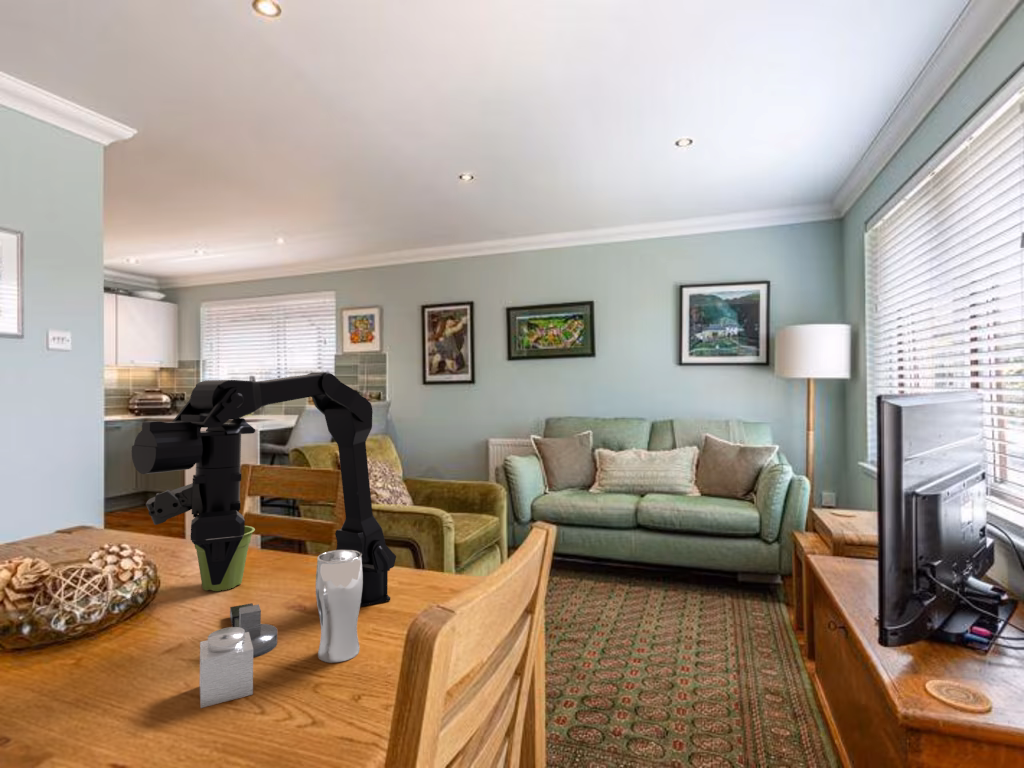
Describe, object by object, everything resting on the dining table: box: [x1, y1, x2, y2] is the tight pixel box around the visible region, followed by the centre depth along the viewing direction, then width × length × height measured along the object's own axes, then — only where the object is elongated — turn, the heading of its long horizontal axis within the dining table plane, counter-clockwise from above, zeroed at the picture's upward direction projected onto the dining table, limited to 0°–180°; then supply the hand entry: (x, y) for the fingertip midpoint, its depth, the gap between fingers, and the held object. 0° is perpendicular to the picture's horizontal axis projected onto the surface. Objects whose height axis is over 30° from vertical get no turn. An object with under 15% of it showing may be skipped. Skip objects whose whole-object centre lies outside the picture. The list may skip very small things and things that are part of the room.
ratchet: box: [229, 603, 278, 659], centre depth 89 cm, size 18×8×6 cm, turn 31°
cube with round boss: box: [199, 626, 254, 709], centre depth 72 cm, size 6×6×8 cm
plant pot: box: [189, 525, 256, 592], centre depth 112 cm, size 12×12×11 cm
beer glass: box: [315, 549, 363, 664], centre depth 83 cm, size 7×7×15 cm
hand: (215, 574), depth 78 cm, fingers open, 9 cm apart
